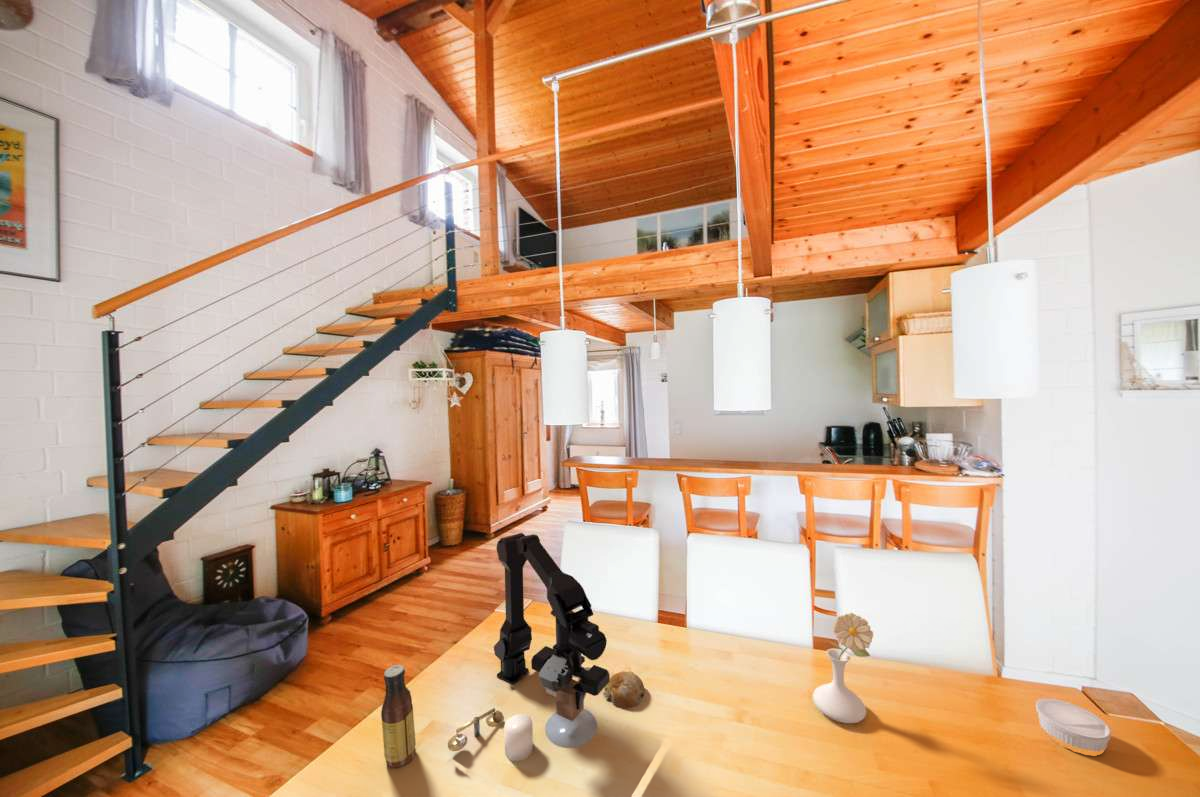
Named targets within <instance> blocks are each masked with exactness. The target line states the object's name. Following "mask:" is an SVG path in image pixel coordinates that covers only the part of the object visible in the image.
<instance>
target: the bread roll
mask: <svg viewBox="0 0 1200 797" xmlns="http://www.w3.org/2000/svg"><path fill="white" fill-rule="evenodd" d="M603 690H604V692H603V696H604V698H606V699H607V698H608V701H609V702H611V703H612V705H613V706H615V707H617V708H620V709H628V708H629V709H630V708H633V707H635V706H638V705H639V704H641V701H642V698H644V696H645V695H644V694H645V685H644V683H643V680H642V679H641V678H640V676H638V675H637V674H635V673H634V671H626V670H625V671H620V672H619V671H618V672H617V673H615V674H613V675H611V676H610V682H609V683H608V684H607V685H606V686H605V687H604V688H603Z"/></svg>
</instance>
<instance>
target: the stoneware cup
mask: <svg viewBox="0 0 1200 797" xmlns="http://www.w3.org/2000/svg"><path fill="white" fill-rule="evenodd" d="M503 730H504V732H503V733H504V753H505V757H506V758H507V759H508V760H509V761H512V762H521V761H523V760H526V759H527V758H529V757H530V755H531V754H532V752H533V750H534V738H533V737H534V736H533V735H534V734H533V720H532V718H531V716H529V715H528V714H525V713H518V714H514V715H512V716H510V717H509V718H508V719H506V721H505V723H504V729H503Z"/></svg>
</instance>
